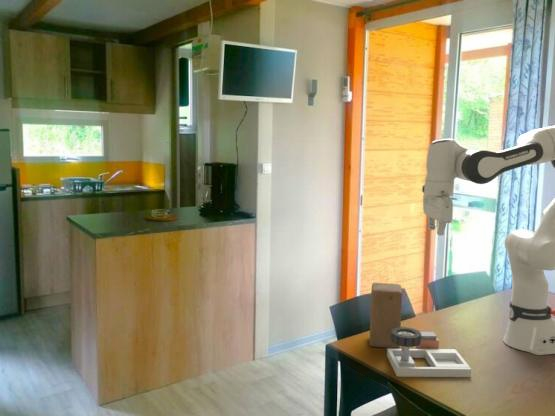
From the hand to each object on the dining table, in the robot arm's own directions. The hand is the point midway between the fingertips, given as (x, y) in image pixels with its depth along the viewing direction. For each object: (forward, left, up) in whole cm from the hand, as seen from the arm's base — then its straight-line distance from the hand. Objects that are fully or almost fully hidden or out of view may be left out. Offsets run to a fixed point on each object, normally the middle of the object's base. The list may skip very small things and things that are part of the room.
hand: (435, 232), depth 169 cm
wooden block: (+14, -6, -40) cm, 43 cm away
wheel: (+11, +12, -32) cm, 36 cm away
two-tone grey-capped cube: (+1, +1, -40) cm, 40 cm away
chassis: (+4, +12, -40) cm, 42 cm away
